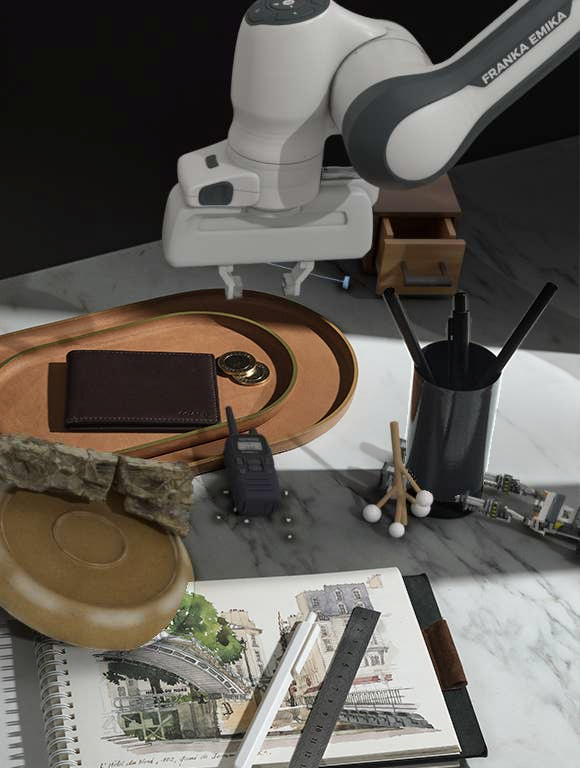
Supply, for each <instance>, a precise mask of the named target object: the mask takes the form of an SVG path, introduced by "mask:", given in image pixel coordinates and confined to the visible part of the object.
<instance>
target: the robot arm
mask: <svg viewBox="0 0 580 768" xmlns="http://www.w3.org/2000/svg"><path fill="white" fill-rule="evenodd" d="M578 49H580V0H517V1H516V2H514V3H513V4H512V5H510V7H509V8H508V9H506V10H505V11H504V12H503V13H501V14H500V15H499V16H498V17H497V18H496V19H494V20H493V22H491V23H490V24H488V25H487V26H486V27H485V28H484V29H483V30H481V31H480V32H479V33H478V34H476V36H475V37H473V38H472V39H471V40H470V41H468V42H467V43H466V44H465V45H464V46H463V47H462V48H460V49H459V50H458V51H457V52H455V53H454V54H453V55H452V56H451V57H450V58H448V59H446V60H444V61H443V62H439V63H437V64H434V63H432V61H431V58H430V57H429V55H428V54H427V53H426V51H425V50H424V48H423V47H422V46H421V44H420V43H419V42H418V41H417V39H416V38H415V36H413V34H411V32H410V31H409V30H408V29H406V27H404V26H402V25H401V24H399V23H397V22H395V21H393V20H389V19H383V18H370V17H368V16H367V17H366V16H363V15H360V14H358V13H355V12H353V11H351V10H349V9H346V8H345V7H344V6H341V5H339V4H338V3H337V2H336V1H334V0H256V1H254V3H252V4H251V5H250V6H249V8H248V9H247V11H246V12H245V14H244V16H243V18H242V21H241V23H240V27H239V30H238V33H237V39H236V44H235V50H234V55H233V64H232V70H231V71H232V73H231V85H230V100H231V104H232V109H233V117H232V122H231V124H230V127H229V129H228V134H227V138H226V139H224V140H222V141H219V142H217V143H214V144H211V145H209V146H206V147H202V148H200V149H196V150H194V151H191V152H188V153H184V154H183V155H181V156H180V157H179V158H178V160H177V166H176V169H177V171H176V172H177V180H178V181H177V183H176V184H175V185H174V186H173V187H172V189H171V190H170V191H169V194H168V197H167V200H166V205H165V209H164V216H163V221H162V222H163V223H162V230H161V248H162V252H163V257H164V259H165V260H166V262H167V263H168V264H169V265H170V266H171V267H173V268H191V267H209V266H216V267H217V271H218V274H219V275H220V277H221V278H222V280H223V282H224V291H225V292H224V294H225V298H226V300H242V299H243V291H244V284H243V282H242V278H241V275H233V274H232V273H233V272H234V265H253V264H267V263H270V264H275V263H289V262H290V263H292V262H297V263H296V264H295V265H294V267H293V268H292V269H293V270H291V272H287V273H282V278H281V279H282V282H281V291H282V293H283V297H299V296H300V292H301V284H302V283H303V282H304V281H305V279H306V278H307V277H308V276H309V275H310V274H309V273H311V272H312V271H313V270H314V269H315V261H332V260H333V261H334V260H349V259H350V260H352V259H361V258H362V257H363V256H364V255H365V254H366V253H367V252H368V251H369V250H370V249H371V245H372V233H373V216H372V206H373V205H374V204H375V202H376V201H377V198H378V193H379V188H382V189H386V190H395V191H400V190H409V189H414V188H418V187H421V186H424V185H426V184H429V183H431V182H433V181H435V180H436V179H438V178H439V177H441V176H442V175H444V174H445V173H448V172H449V171H450V170H451V169H452V168H453V167H454V166H455V165H456V164H457V162H459V160H460V159H461V158H462V157H463V155H464V154H465V153H466V152H467V150H468V149H469V148H470V146H471V145H472V144H473V143H474V141H475V140H476V139H477V138H478V136H479V135H480V134H481V133H482V132H483V131H484V129H486V128H487V127H488V126H489V124H491V123H492V122H493V121H494V120H495V119H496V118H497V117H498V116H499V115H501V114H502V113H503V112H504V111H506V109H508V108H509V107H510V106H511V105H513V104H514V103H516V101H518V100H519V99H520V98H521V97H522V96H524V94H526V93H527V92H528V91H530V90H531V89H532V88H533V87H534V86H535V85H537V84H538V83H540V81H541V80H542V79H544V78H545V77H546V76H547V75H548V74H550V73H551V72H552V71H553V70H554V69H556V68H557V67H558V66H559V65H560V64H562V63H563V62H564V61H565V60H567V59H568V58H569V57H570V56H571V55H573V54H574V53H575V52H576V51H577V50H578ZM333 135H341V137H342V142H343V145H344V147H345V150H346V153H347V156H348V159H349V161H350V164H351V166H323V159H324V151H325V143H326V140H327V139H328V138H329V137H330V136H333Z"/></svg>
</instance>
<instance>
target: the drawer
mask: <svg viewBox="0 0 580 768" xmlns="http://www.w3.org/2000/svg"><path fill="white" fill-rule="evenodd" d="M466 245H467V244H466V241H465V239H464V238H463V239H460V238H459V239H457V238H456V233H455V230H454V228H453V225H452V222H451V219H450V217H383V216H379V221H378V228H377V234H376V241H375V247H374V253H373V258H374V262H375V265H376V269H377V273H376V274H377V280H376V286H375V292H376V294H377V295H384V294H383V291H384V289H386V288H388V287H394V288H395V289H396V293H397V294H396V295H442V296H443V295H445V296H446V295H449V296H450V295H451V296H452V295H453V296H454V294H455V295H456V292H457V288H458V283H459V278H460V274H461V269H462V264H463V261H464V255H465V249H466Z"/></svg>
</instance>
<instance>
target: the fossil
mask: <svg viewBox="0 0 580 768" xmlns="http://www.w3.org/2000/svg"><path fill="white" fill-rule="evenodd" d="M195 477H196V474H195V471H194V470H193V469H192V468H191V466H189V464H188V462H187V461H185V460H181V459H180V460H179V459H178V461H176V462H174V461H164V460H157V459H156V460H155V459H146V458H139V457H135V456H130V455H129V456H128V455H123V454H119V453H113V452H107V451H98V450H95V449H94V448H90V447H88V448H87V449H85V448H82V447H78V446H72V445H67V444H66V443H64V442H61V441H55V442H54V441H50V440H48V439H41V438H36V437H35V436H33V435H23V434H19V433H1V434H0V480H1V481H2V482H5V483H7V484H8V485H9V486H14V487H20V488H27V489H31V490H34V491H38V492H43V491H44V490H46V491H52V492H60V493H64V494H68V495H71V496H75V497H78V496H80V498H83V499H89V500H92V501H96V502H100V503H104V504H105V501H106V493H107V492H108V490H110V487H112V488H113V489H114V490H116V491H117V492H119V493H121V494H124V495H126V497H125V500H124V506H125V511H127V512H130V513H132V514H135V515H138V516H141V517H143V518H146V519H148V520H151V521H152V520H155V521H157V522H158V523H159V524H160V525H161V526H162V527H164V528H166V529H168V530H169V531H171V532H173V533H174V534H176V535H178V536H179V537H180V539H186V538H187V537H188V536H189V533H190V530H191V528H190V524H189V520H190V517H191V514H190V513H191V511H193V510H192V509H193V507H194V505H196V500H195V499H194V498H191V497H192V495H193V494H194V492H195V491H194V489H195V488H194V484H193V481H194V479H195Z"/></svg>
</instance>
